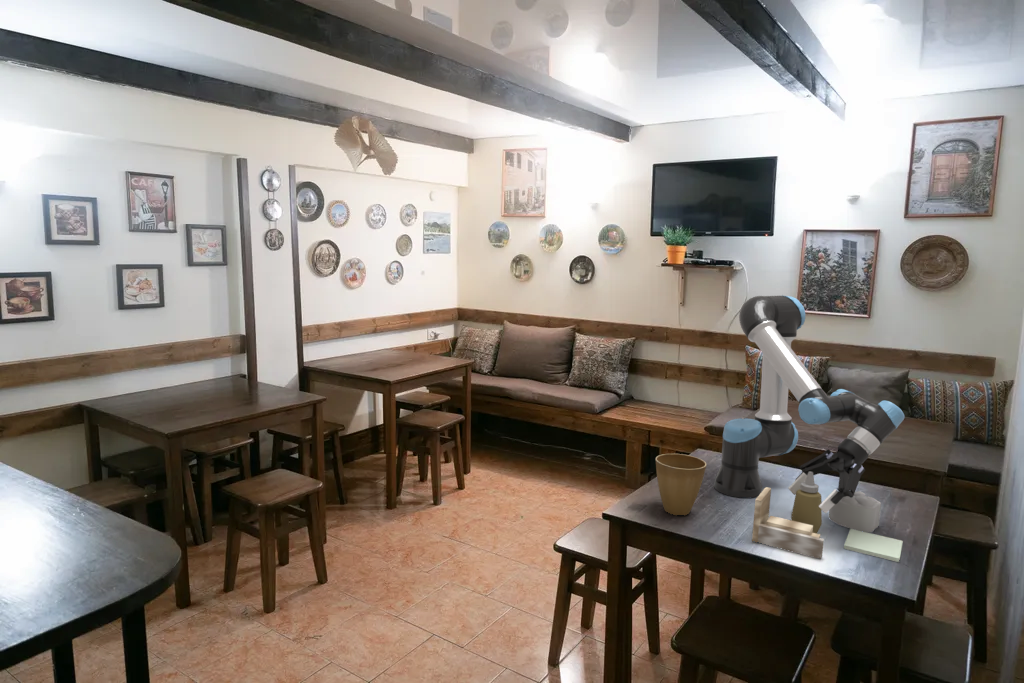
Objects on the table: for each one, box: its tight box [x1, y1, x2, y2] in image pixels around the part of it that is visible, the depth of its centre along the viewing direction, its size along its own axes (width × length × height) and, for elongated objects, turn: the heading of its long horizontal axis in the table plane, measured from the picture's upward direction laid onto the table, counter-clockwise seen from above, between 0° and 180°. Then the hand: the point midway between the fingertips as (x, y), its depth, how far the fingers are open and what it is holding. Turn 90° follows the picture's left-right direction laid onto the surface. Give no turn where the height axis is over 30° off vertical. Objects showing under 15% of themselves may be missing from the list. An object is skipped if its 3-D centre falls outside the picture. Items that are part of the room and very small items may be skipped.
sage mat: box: [843, 528, 904, 563], centre depth 179 cm, size 13×13×1 cm
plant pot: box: [655, 453, 707, 516], centre depth 199 cm, size 15×15×16 cm
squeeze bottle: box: [790, 472, 823, 534], centre depth 186 cm, size 8×8×18 cm
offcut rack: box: [751, 487, 825, 560], centre depth 180 cm, size 18×12×12 cm
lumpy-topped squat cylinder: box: [828, 490, 882, 533], centre depth 195 cm, size 10×13×9 cm
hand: (806, 500), depth 185 cm, fingers open, 13 cm apart
